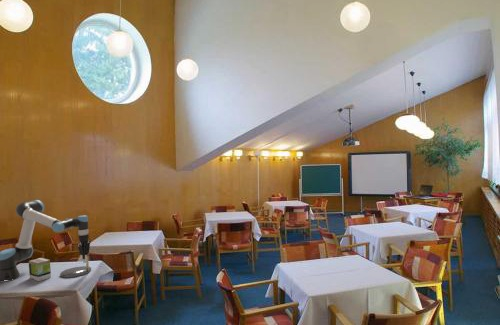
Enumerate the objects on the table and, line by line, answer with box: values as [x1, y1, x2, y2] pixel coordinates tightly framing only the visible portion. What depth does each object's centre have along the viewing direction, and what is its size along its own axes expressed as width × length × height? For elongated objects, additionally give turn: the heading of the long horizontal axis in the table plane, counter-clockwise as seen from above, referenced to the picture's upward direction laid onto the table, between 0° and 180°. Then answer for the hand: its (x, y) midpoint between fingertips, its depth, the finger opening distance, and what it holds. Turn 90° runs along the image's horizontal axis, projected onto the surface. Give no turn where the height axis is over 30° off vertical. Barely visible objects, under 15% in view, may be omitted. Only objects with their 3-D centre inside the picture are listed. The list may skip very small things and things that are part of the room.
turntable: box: [59, 256, 92, 279], centre depth 274 cm, size 23×23×13 cm
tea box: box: [28, 257, 52, 282], centre depth 266 cm, size 15×10×15 cm, turn 58°
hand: (85, 262), depth 269 cm, fingers closed
